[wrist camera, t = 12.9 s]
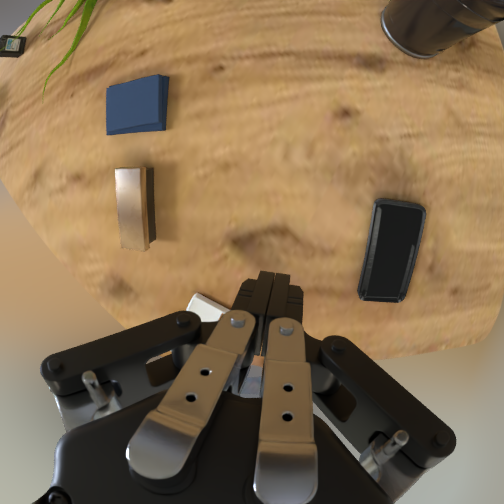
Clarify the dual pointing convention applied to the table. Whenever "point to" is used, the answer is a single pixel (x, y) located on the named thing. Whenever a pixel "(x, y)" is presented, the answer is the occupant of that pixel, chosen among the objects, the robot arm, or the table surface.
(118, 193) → the tan two-tone block
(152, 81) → the folded cloth
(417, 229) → the phone
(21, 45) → the ink cartridge
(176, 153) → the table surface
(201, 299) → the phone case
